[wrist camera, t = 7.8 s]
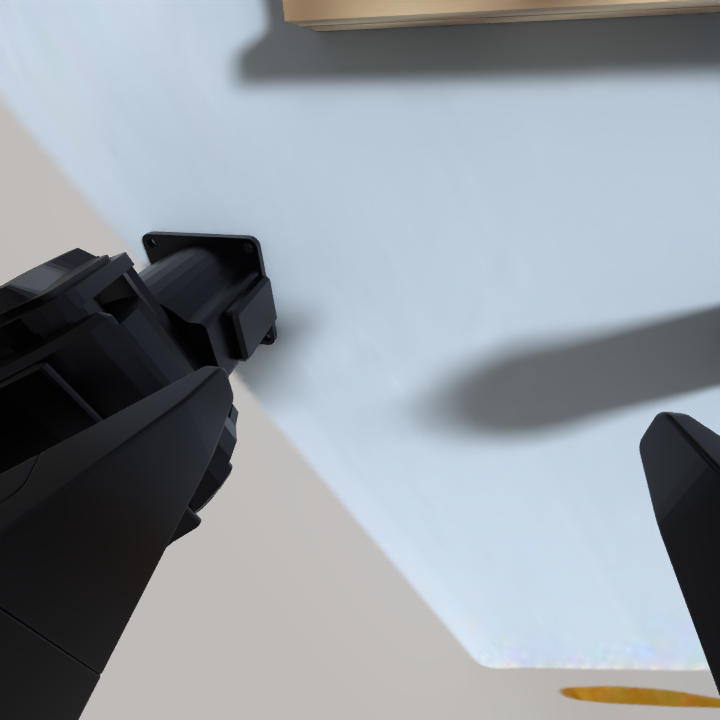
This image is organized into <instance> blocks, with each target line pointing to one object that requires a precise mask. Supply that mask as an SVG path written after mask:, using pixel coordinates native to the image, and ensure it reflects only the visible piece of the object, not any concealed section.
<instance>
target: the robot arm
mask: <svg viewBox="0 0 720 720" xmlns="http://www.w3.org/2000/svg"><path fill="white" fill-rule="evenodd" d="M152 239H153V240H154V241H155V243H156V245H155V244H154V243H153V242H152ZM142 240H143V244H144V246H145V249H146V252H147V255H148V257H149V260H150V263H151V266H149V267H147V268H146V269H144V270H143V271H141V272H140V273H138V274H137V272H136V271H135V269H134V268H133V267H132V266H133V265H134V263H133V262H132V260H131V259H130V258H129V256H128V255H127V253H126V252H124V253H121V254H119V255H116V256H113V257H110V258H109V256H108V255H104V256H102V257H99V256H97V257H96V256H94V255H92V254H90V253H87V252H86V251H83V250H81V249H79V248H76V249H74V250H71V251H69V252H67V253H64V254H62V255H60V256H58V257H56V258H54V259H52V260H50V261H48V262H45V263H43V264H42V265H39V266H37V267H35V268H33V269H31V270H29V271H27V272H25V273H23V274H21V275H20V276H18V277H16V278H14V279H13V280H11V281H9V282H7V283H5V284H4V285H2V286H0V720H79V718H80V716H81V714H82V712H83V710H84V708H85V706H86V704H87V702H88V700H89V698H90V696H91V694H92V692H93V690H94V688H95V686H96V684H97V682H98V680H99V679H100V674H101V673H102V672H103V670H104V668H105V666H106V664H107V662H108V660H109V658H110V656H111V654H112V652H113V650H114V648H115V646H116V645H117V643H118V641H119V639H120V637H121V635H122V633H123V631H124V629H125V627H126V625H127V623H128V621H129V619H130V617H131V615H132V613H133V611H134V609H135V607H136V606H137V604H138V602H139V600H140V598H141V596H142V594H143V592H144V590H145V588H146V586H147V584H148V582H149V580H150V578H151V576H152V574H153V572H154V570H155V568H156V566H157V564H158V563H159V560H160V559H161V556H162V555H163V553H164V551H165V549H166V547H167V546H169V545H170V544H171V543H172V542H173V541H175V540H177V539H179V538H180V537H182V536H184V535H185V534H187V533H189V532H190V531H192V530H193V529H195V528H197V527H198V526H199V524H200V523H201V519H200V517H198V515H197V514H196V513H197V512H199V511H200V510H201V509H202V508H203V507H204V506H205V505H206V504H207V503H208V502H209V501H210V500H211V499H212V498H213V496H214V495H215V494H216V493H217V491H218V490H219V489H220V488H221V486H222V485H223V484H224V482H225V481H226V479H227V478H228V476H229V475H230V472H231V470H232V464H231V463H230V462H229V461H230V459H231V456H232V453H233V450H234V447H235V444H236V441H237V438H236V422H237V416H238V411H237V410H236V408H235V407H234V405H233V404H232V403H233V392H232V389H231V385H230V382H229V379H228V377H229V375H230V374H231V373H232V371H233V370H234V368H235V367H236V366H237V364H238V363H239V361H247V360H248V359H249V358H250V356H251V355H252V354H253V352H254V351H255V349H256V348H257V346H258V345H259V344H265V345H271V344H273V343H274V341H275V340H276V338H277V332H276V327H275V320H276V319H277V316H276V311H275V305H274V299H273V294H272V288H271V283H270V279H269V278H268V277H267V276H266V273H265V267H264V262H263V257H262V251H261V246H260V243H259V241H258V240H257V239H256V238H255V237H253V236H247V235H224V234H200V233H177V232H154V231H153V232H149V233H147V234H145V235H144V236H143V239H142ZM247 243H249V244H250V245H252V247H253V250H250V249H249V248H248V247H247ZM266 334H267V335H269V336H270V338H269V337H267V336H266ZM639 448H640V455H641V459H642V463H643V468H644V472H645V476H646V480H647V484H648V488H649V493H650V497H651V501H652V505H653V509H654V513H655V517H656V521H657V524H658V527H659V530H660V533H661V536H662V539H663V542H664V544H665V547H666V550H667V553H668V555H669V558H670V561H671V564H672V566H673V569H674V572H675V574H676V577H677V580H678V583H679V585H680V588H681V591H682V594H683V596H684V599H685V602H686V605H687V607H688V610H689V613H690V615H691V618H692V621H693V624H694V626H695V629H696V632H697V635H698V637H699V640H700V643H701V646H702V648H703V651H704V654H705V656H706V659H707V662H708V665H709V667H710V670H711V673H712V676H713V678H714V681H715V684H716V686H717V689H718V692H719V695H720V436H719V435H718V434H716V433H715V432H713V431H712V430H710V429H709V428H707V427H705V426H704V425H702V424H701V423H699V422H698V421H696V420H695V419H693V418H692V417H690V416H689V415H686V414H682V413H673V412H661V413H659V414H657V415H656V417H655V418H654V420H653V421H652V423H651V424H650V426H649V428H648V429H647V431H646V432H645V434H644V436H643V437H642V439H641V441H640V447H639Z"/></svg>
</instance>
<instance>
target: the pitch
mask: <svg viewBox="0 0 720 720" xmlns="http://www.w3.org/2000/svg"><path fill="white" fill-rule="evenodd" d="M282 2H283V11H284V20H285V22H288V23H292V24H295V25H298V26H303V27H305V28H308V29H311V30H314V31H336V30H357V29H378V28H400V27H421V26H442V25H464V24H485V23H506V22H528V21H549V20H570V19H592V18H613V17H634V16H656V15H677V14H699V13H713V12H718V11H720V0H282Z"/></svg>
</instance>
